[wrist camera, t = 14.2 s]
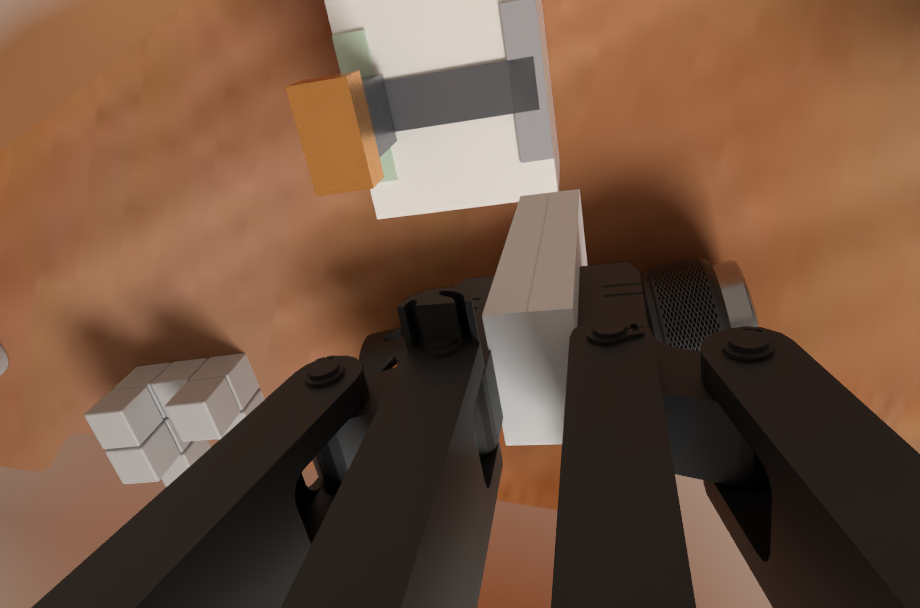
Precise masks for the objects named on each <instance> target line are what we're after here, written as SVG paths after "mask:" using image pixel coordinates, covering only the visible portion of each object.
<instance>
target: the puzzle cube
mask: <svg viewBox="0 0 920 608" xmlns="http://www.w3.org/2000/svg"><path fill="white" fill-rule="evenodd" d="M258 388H259V384H258V382H257V379H256V377H255V375H254V372H253V370H252V367H251V365H250V363H249V360H248V358H247V355H246V354H245V353H240V354H232V355H225V356H217V357H210V358H209V359H207V358H201V359H193V360H185V361H177V362H172V363H161V364H153V365H145V366H137V367H136V368H135V369H134V370H133V371H131V372H130V373H129V374H128V375H127V376H126V377H125V378H124V379H123V380H122V381H120V382H119V383H118V384H117V385H116V386H115V387H114V390H111V391H109V392H108V393H107V394H106V395H105V396H104V397H103V398H102V399H101V400H100V401H98V402H97V403H96V404H95V405H94V406H93V407H92V408H91V409H90V410H89V411H87V412H86V413H85V415H84V416H85V418H86V420H87V421H88V423H89V425H90V427H91V428H92V430H93V432H94V434H95V435H96V437H97V439H98V441H99V442H100V444H101V446H102V448H103V449H107V450H106V451H105V453H106V455H107V456H108V458H109V460H110V462H111V464H112V465H113V467H114V469H115V471H116V472H117V474H118V476H119V478H120V479H121V481H122V482H123V484H132V483H144V482H157V481H159V480H160V479H162V481H163V483H164V485H165V486H166V487H167V486H168V485H170V484H171V483H172V482H173V481H174V480H175V479H176V478H177V477H179V476H180V475H181V474H182V473H183V472H184V471H185V470H186V469H188V468H189V467H190V466H191V465H192V464H193V463H194V462H195V461H197V460H198V459H199V458H200V457H201V456H202V455H203V454H204V453H205V452H207V451H208V450H209V449H210V448H211V446H210V444H209V442H208V440H211V439H218V441H219V440H220V439H221V438H222V437H223V436H225V435H226V434H227V433H228V432H229V431H230V430H231V429H232V428H234V427H235V426H236V425H237V424H238V423H239V422H240V421H241V420H242V419H244V418H245V417H246V416H247V415H248V414H249V413H250V412H251V411H253V410H254V409H255V408H256V407H257V406H258V405H259V404H260V403H262V402H263V401H264V400H265V398H264V396H263V394H262V391H261V390H260V389H258Z"/></svg>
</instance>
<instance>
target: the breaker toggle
mask: <svg viewBox="0 0 920 608" xmlns="http://www.w3.org/2000/svg"><path fill="white" fill-rule="evenodd" d="M286 91H287V95H288V98H289V102H290V105H291V109H292V112H293V116H294V119H295V123H296V126H297V130H298V134H299V137H300V141H301V144H302V148H303V151H304V155H305V158H306V162H307V165H308V169H309V173H310V176H311V180H312V183H313V187H314V190H315V194H316V196H323V195H330V194H338V193H345V192H352V191H360V190H367V189H374V187H375V186H376V185H377V184H378V183H379V182H380V181H381V180H382V179H383V178H384V174H383V170H382V165H381V161H380V157H381V156H382V155H383V154H384V153H385V152H386V151H387V150H388V149H389V148H390V147H391V146H392V145H393V144H394V143H395V142H396V141H397V138H396V133H395V129H394V124H393V119H392V115H391V110H390V106H389V101H388V96H387V92H386V87H385V83H384V78H383V73H382V74H377V75H371V76H365V77H361V75H360V70H358V71H352V72H347V73H341V74H336V75H330V76H324V77H319V78H313V79H307V80H302V81H299V82H297V83H294V84H292V85H289V86H287V87H286Z"/></svg>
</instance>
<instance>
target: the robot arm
mask: <svg viewBox="0 0 920 608" xmlns="http://www.w3.org/2000/svg"><path fill="white" fill-rule="evenodd" d="M397 309H398V313H399V317H400V322H401V326H402V330H403V334H404V338H405V342H406V346H407V350H406V352H405V354H404V356H403V358H402V360H401V362H400V365H399V367H395V368H392V369H389V370H385V371H381V372H377V373H373V374H368V375H365V373H364V369H363V366H362V363H361V362H360V361H359V360H358V359H357V358H354V357H350V356H327V357H326V358H325V357H323V358H320V359H317V360H316V361H314V362H312V363H310V364H307V365H305V366H304V367H302V368H301V369H300V370H298V371H297V372H295V373H294V374H293V375H292V376H291V377H290V378H288V379H287V380H286V381H285V382H284V383H283V384H282V385H281V386H279V387H278V388H277V389H276V390H275V391H274V392H273V393H272V394H271V395H269V396H268V397H267V398H266V399H265V400H264V401H263V402H262V403H260V404H259V405H258V406H257V407H256V408H255V409H254V410H253V411H251V412H250V413H249V414H248V415H247V416H246V417H245V418H244V419H242V420H241V421H240V422H239V423H238V424H237V425H236V426H235V427H234V428H232V429H231V430H230V431H229V432H228V433H227V434H226V435H225V436H223V437H222V438H221V439H220V440H219V441H218V442H217V443H216V444H214V445H213V446H212V447H211V448H210V449H209V450H208V451H207V452H205V453H204V454H203V455H202V456H201V457H200V458H199V459H198V460H197V461H195V462H194V463H193V464H192V465H191V466H190V467H189V468H188V469H186V470H185V471H184V472H183V473H182V474H181V475H180V476H179V477H177V478H176V479H175V480H174V481H173V482H172V483H171V484H170V485H168V486H167V487H166V488H165V489H164V490H163V491H162V492H161V493H160V494H158V495H157V496H156V497H155V498H154V499H153V500H152V501H151V502H149V503H148V504H147V505H146V506H145V507H144V508H143V509H142V510H140V511H139V512H138V513H137V514H136V515H135V516H134V517H133V518H132V519H130V520H129V521H128V522H127V523H126V524H125V525H124V526H122V527H121V528H120V529H119V530H118V531H117V532H116V533H115V534H114V535H113V536H111V537H110V538H109V539H108V540H107V541H106V542H105V543H103V544H102V545H101V546H100V547H99V548H98V549H97V550H96V551H95V552H93V553H92V554H91V555H90V556H89V557H88V558H87V559H85V560H84V562H82V563H81V564H80V565H79V566H78V567H77V568H75V569H74V570H73V571H72V572H71V573H70V574H69V575H68V576H66V577H65V578H64V579H63V580H62V581H61V582H60V583H59V584H57V585H56V586H55V587H54V588H53V589H52V590H51V591H50V592H49V593H47V594H46V595H45V596H44V597H43V598H42V599H41V600H39V601H38V602H37V603H36V604H35V605H34V606H33V607H32V608H477V605H478V599H479V594H480V588H481V582H482V577H483V571H484V566H485V560H486V555H487V549H488V543H489V538H490V532H491V527H492V521H493V515H494V510H495V504H496V499H497V493H498V487H499V482H500V476H501V471H502V465H503V462H502V454H501V449H500V444H499V436H500V431H501V426H503V432H504V437H505V443H506V446H510V445H547V444H562V455H561V469H560V484H559V498H558V513H557V528H556V543H555V557H554V572H553V587H552V601H551V608H696V604H695V598H694V592H693V586H692V579H691V573H690V568H689V561H688V554H687V548H686V542H685V536H684V529H683V523H682V517H681V511H680V505H679V498H678V492H677V486H676V480H675V474H678V475H682V476H687V477H692V478H697V479H701V480H704V486H705V490H706V493H707V495H708V497H709V499H710V501H711V502H712V504H713V506H714V507H715V509H716V511H717V513H718V514H719V516H720V518H721V519H722V521H723V523H724V525H725V526H726V528H727V530H728V531H729V533H730V535H731V537H732V538H733V540H734V542H735V543H736V545H737V547H738V549H739V550H740V552H741V554H742V555H743V557H744V559H745V560H746V562H747V564H748V566H749V567H750V569H751V571H752V573H753V574H754V576H755V578H756V579H757V581H758V583H759V585H760V586H761V588H762V590H763V591H764V593H765V595H766V597H767V598H768V600H769V602H770V603H771V605H772V607H773V608H920V454H919V453H918V452H917V451H916V450H915V449H913V448H912V447H911V446H910V445H909V444H908V443H907V442H906V441H905V440H903V439H902V438H901V437H900V436H899V435H898V434H897V433H896V432H895V431H893V430H892V429H891V428H890V427H889V426H888V425H887V424H886V423H885V422H883V421H882V420H881V419H880V418H879V417H878V416H877V415H876V414H874V413H873V412H872V411H871V410H870V409H869V408H868V407H867V406H866V405H864V404H863V403H862V402H861V401H860V400H859V399H858V398H857V397H856V396H854V395H853V394H852V393H851V392H850V391H849V390H848V389H847V388H846V387H844V386H843V385H842V384H841V383H840V382H839V381H838V380H837V379H836V378H834V377H833V376H832V375H831V374H830V373H829V372H828V371H827V370H826V369H824V368H823V367H822V366H821V365H820V364H819V363H818V362H817V361H816V360H814V359H813V358H812V357H811V356H810V355H809V354H808V353H807V352H806V351H804V350H803V349H802V348H801V347H800V346H799V345H798V344H797V343H796V342H794V341H793V340H792V339H790V338H788V337H787V336H785V335H783V334H782V333H779V332H776V331H772V330H769V329H765V328H762V327H752V326H742V327H737V328H728V329H725V330H721V331H718V332H715V333H713V334H711V335H710V336H709V337H707V338H706V339H704V341H703V343H702V345H701V348H700V351H693V350H685V349H680V348H675V347H672V346H669V345H666V344H664V343H662V342H660V341H658V340H656V339H655V338H654V337H653V336H652V331H651V330H650V328H649V326H648V322H647V316H646V309H645V303H644V297H643V290H642V285H641V278H640V271H639V270H637V269H636V268H635V267H634V266H632V265H631V264H630V263H628V262H621V263H611V264H600V265H589V266H588V265H587V256H586V246H585V236H584V226H583V217H582V207H581V197H580V189H575V190H567V191H559V192H550V193H542V194H534V195H526V196H520V199H519V202H518V205H517V208H516V212H515V215H514V218H513V221H512V224H511V227H510V230H509V233H508V236H507V239H506V243H505V246H504V249H503V252H502V255H501V258H500V261H499V264H498V267H497V270H496V273H495V276H489V277H478V278H467V279H464V280H463V281H462V282H461V283H460V284H458V285H457V286H456V287H455V288H437V289H431V290H427V291H424V292H421V293H418V294H415V295H413V296H411V297H409V298H407V299H406V300H404V301H403V302H402V303H401V304H400V305H399V306H398V307H397ZM312 460H313V463H314V466H315V468H316V471H317V474H318V479H317V480H316V481H315V482H314V483H313V484H312V485H311V486H309V487H307V486H306V484H305V481H304V479H303V476H302V471H303V470H304V469H305V467H306V466H307V465H308V464H309V463H310V462H311V461H312Z"/></svg>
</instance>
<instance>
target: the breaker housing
mask: <svg viewBox="0 0 920 608" xmlns="http://www.w3.org/2000/svg"><path fill="white" fill-rule="evenodd" d="M324 2H325V6H326V10H327V14H328V18H329V22H330V26H331V31H332V35H333V36H332V39H333V44H334V48H335V52H336V56H337V60H338V64H339V68H340V72H341V73H347V72H352V71H358V70H360V75H361V77H365V76H371V75H377V74H382V73H383V78H384V83H385V87H386V92H387V96H388V101H389V106H390V110H391V115H392V119H393V124H394V129H395V133H396V138H397V141H396V142H395V143H394V144H393V145H392V146H391V147H390V148H389V149H388V150H387V151H386V152H385V153H384V154H383V155H382V156H381V157H380V161H381V165H382V170H383V174H384V178H383V179H382V180H381V181H380V182H379V183H378V184H377V185H376V186H375V187H374V189H370V191H371V195H372V199H373V203H374V207H375V211H376V216H377V219H385V218H393V217H401V216H409V215H417V214H425V213H433V212H441V211H449V210H457V209H465V208H473V207H481V206H489V205H498V204H506V203H514V202H519V199H520V196H526V195H534V194H542V193H550V192H559V173H560V160H559V151H558V142H557V133H556V124H555V115H554V106H553V97H552V88H551V78H550V69H549V60H548V51H547V42H546V33H545V24H544V15H543V6H542V0H324Z"/></svg>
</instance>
